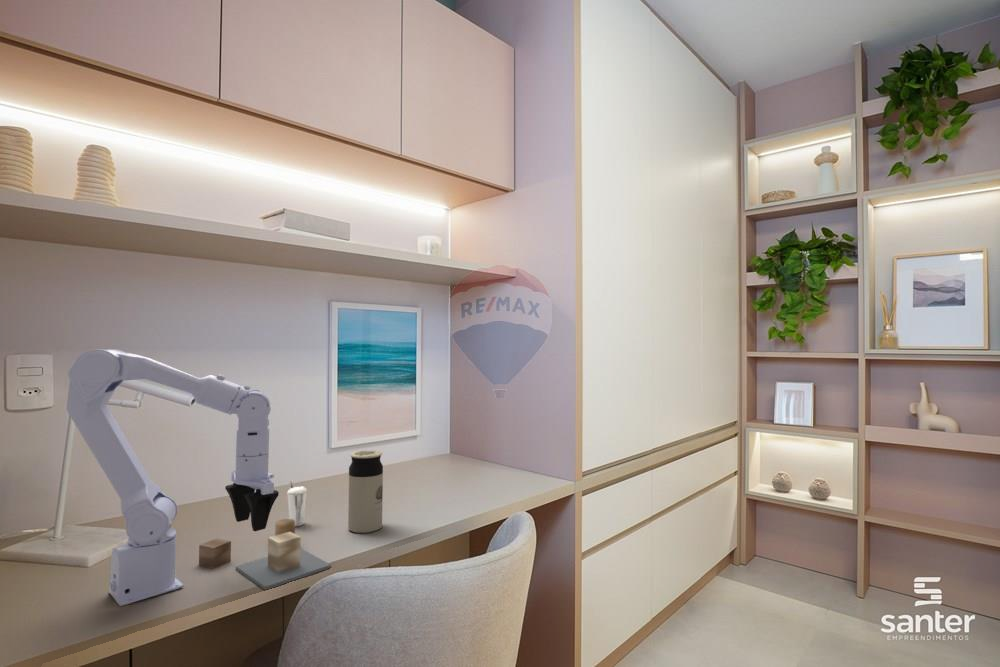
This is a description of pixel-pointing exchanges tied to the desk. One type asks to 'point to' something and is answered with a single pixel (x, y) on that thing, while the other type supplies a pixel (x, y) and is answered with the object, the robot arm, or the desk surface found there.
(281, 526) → the oak cylinder
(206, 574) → the desk surface
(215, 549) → the walnut cube
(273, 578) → the mat
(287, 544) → the maple block
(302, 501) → the milkshake
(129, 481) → the robot arm
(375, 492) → the travel mug
